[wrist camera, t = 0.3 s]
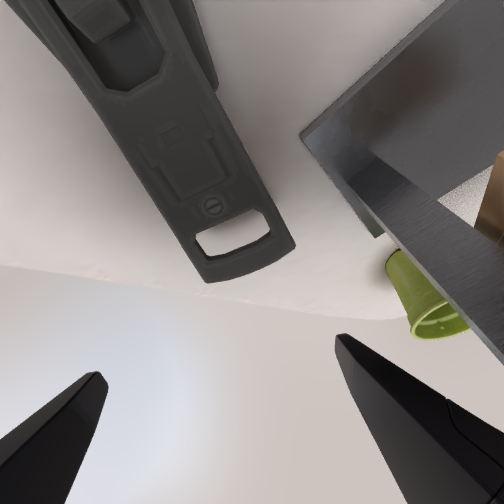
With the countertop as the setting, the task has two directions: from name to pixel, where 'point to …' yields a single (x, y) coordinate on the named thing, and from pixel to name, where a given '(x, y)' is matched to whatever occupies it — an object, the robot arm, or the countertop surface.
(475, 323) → the post stand
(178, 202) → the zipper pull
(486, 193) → the cardboard box
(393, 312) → the countertop surface
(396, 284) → the plant pot
